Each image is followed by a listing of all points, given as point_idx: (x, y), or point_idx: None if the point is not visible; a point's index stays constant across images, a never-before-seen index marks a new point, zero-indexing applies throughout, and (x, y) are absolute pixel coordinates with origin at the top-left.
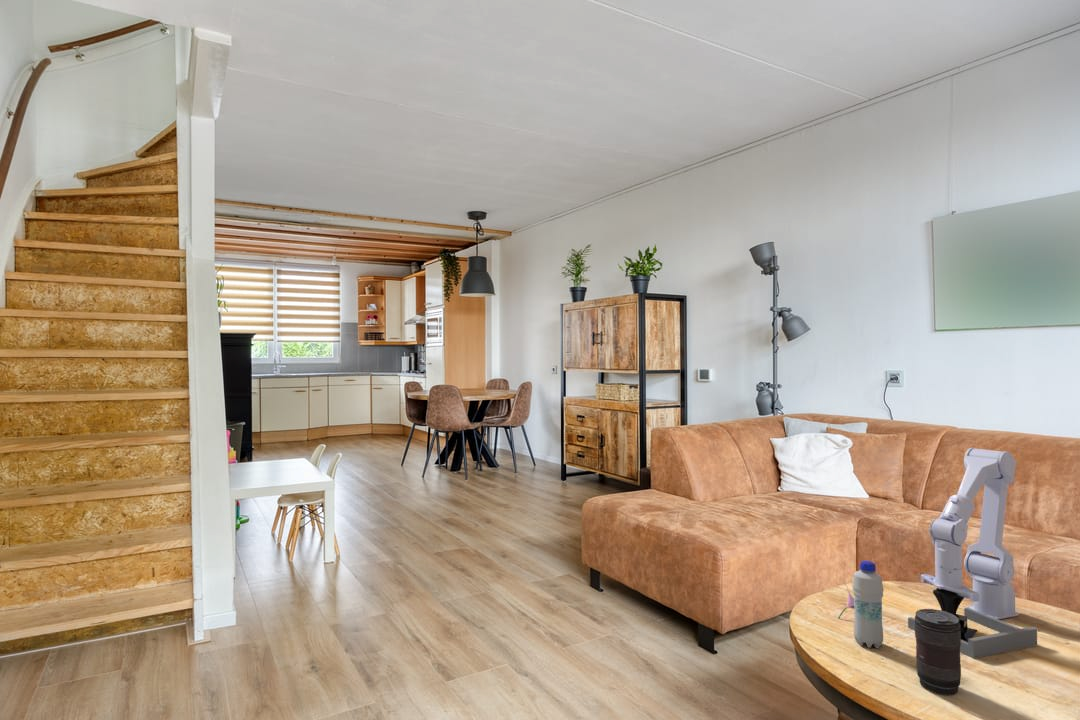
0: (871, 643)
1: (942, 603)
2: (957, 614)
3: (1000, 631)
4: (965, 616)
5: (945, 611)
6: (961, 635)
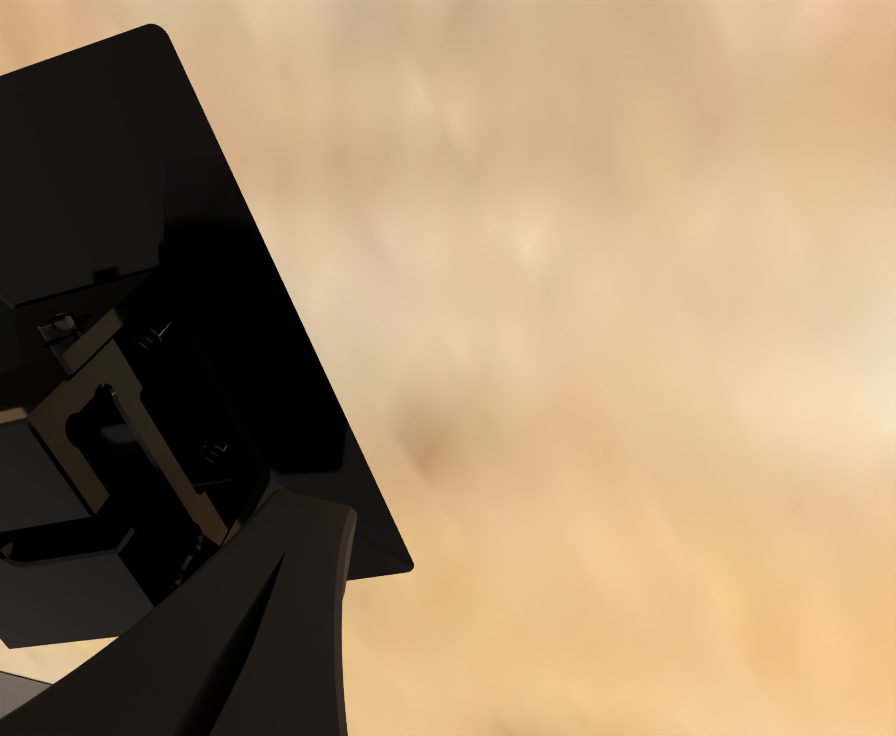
0: None
1: (224, 723)
2: (106, 621)
3: (39, 692)
4: (2, 628)
5: (243, 589)
6: (29, 285)
